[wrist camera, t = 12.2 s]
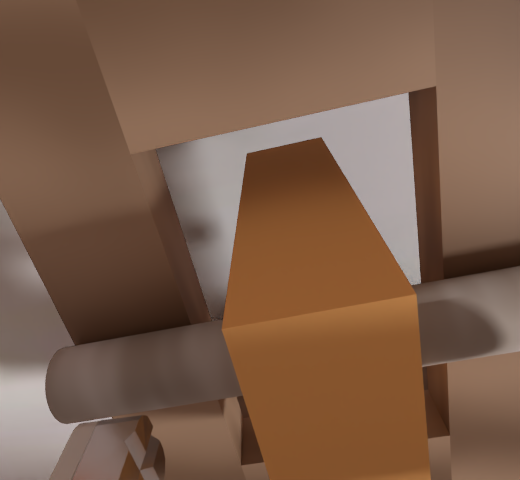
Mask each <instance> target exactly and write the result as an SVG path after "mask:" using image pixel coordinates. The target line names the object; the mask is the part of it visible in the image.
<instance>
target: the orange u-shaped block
mask: <svg viewBox="0 0 520 480" xmlns="http://www.w3.org/2000/svg"><path fill="white" fill-rule="evenodd" d="M222 332H223V335H224V338H225V341H226V344H227V348H228V351H229V354H230V357H231V360H232V363H233V366H234V369H235V373H236V376H237V379H238V382H239V385H240V388H241V391H242V394H243V397H244V401H245V404H246V407H247V410H248V413H249V416H250V419H251V422H252V426H253V429H254V432H255V435H256V438H257V441H258V444H259V447H260V451H261V454H262V457H263V460H264V463H265V466H266V469H267V472H268V476H269V479H270V480H431V475H430V462H429V449H428V436H427V423H426V410H425V397H424V384H423V372H422V359H421V346H420V333H419V320H418V307H417V294H416V293H415V291H414V289H413V288H412V286H411V284H410V283H409V281H408V279H407V278H406V276H405V274H404V273H403V271H402V270H401V268H400V266H399V265H398V263H397V261H396V260H395V258H394V256H393V255H392V253H391V251H390V250H389V248H388V246H387V245H386V243H385V242H384V240H383V238H382V237H381V235H380V233H379V232H378V230H377V228H376V227H375V225H374V223H373V222H372V220H371V218H370V217H369V215H368V214H367V212H366V210H365V209H364V207H363V205H362V204H361V202H360V200H359V199H358V197H357V195H356V194H355V192H354V190H353V189H352V187H351V186H350V184H349V182H348V181H347V179H346V177H345V176H344V174H343V172H342V171H341V169H340V167H339V166H338V164H337V162H336V161H335V159H334V158H333V156H332V154H331V153H330V151H329V149H328V148H327V146H326V144H325V143H324V141H323V139H322V138H321V137H320V138H316V139H311V140H307V141H302V142H298V143H293V144H288V145H284V146H279V147H275V148H270V149H266V150H261V151H257V152H252V153H248V154H247V157H246V164H245V171H244V178H243V185H242V192H241V199H240V205H239V212H238V219H237V226H236V233H235V240H234V247H233V254H232V261H231V268H230V275H229V282H228V289H227V296H226V303H225V309H224V316H223V323H222Z"/></svg>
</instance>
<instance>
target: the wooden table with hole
mask: <svg viewBox="0 0 520 480" xmlns="http://www.w3.org/2000/svg"><path fill="white" fill-rule="evenodd" d="M407 92H409V106H410V122H411V137H412V152H413V167H414V182H415V197H416V212H417V227H418V243H419V258H420V273H421V284H416V285H411V286H412V288H413V289H414V291H415V293H416V294H417V307H418V320H419V333H420V346H421V359H422V372H423V384H424V397H425V410H426V423H427V436H428V449H429V462H430V475H431V480H520V0H0V199H1V201H2V203H3V205H4V207H5V209H6V211H7V213H8V215H9V217H10V219H11V221H12V223H13V225H14V227H15V229H16V231H17V233H18V234H19V236H20V238H21V240H22V242H23V244H24V246H25V248H26V250H27V252H28V254H29V256H30V258H31V260H32V262H33V264H34V266H35V268H36V270H37V272H38V274H39V276H40V277H41V279H42V281H43V283H44V285H45V287H46V289H47V291H48V293H49V295H50V297H51V299H52V301H53V303H54V305H55V307H56V309H57V311H58V313H59V315H60V317H61V319H62V321H63V322H64V324H65V326H66V328H67V330H68V332H69V334H70V336H71V338H72V340H73V342H74V344H75V346H71V347H65V348H62V349H60V350H58V351H57V352H56V353H55V354H54V356H53V357H52V359H51V361H50V363H49V366H48V369H47V374H46V382H45V391H46V398H47V403H48V406H49V409H50V411H51V413H52V414H53V416H54V417H55V418H56V419H57V420H58V421H59V422H61V423H64V424H69V423H76V422H82V421H88V420H94V419H100V418H107V417H112V418H113V419H116V418H124V417H132V416H139V415H146V416H148V417H149V419H150V421H151V423H152V425H153V429H152V432H151V435H152V436H153V437H155V438H157V439H158V440H160V442H161V445H162V447H163V450H164V455H165V476H164V480H270V479H269V476H268V472H267V469H266V466H265V463H264V460H263V457H262V454H261V451H260V447H259V444H258V441H257V438H256V435H255V432H254V429H253V426H252V422H251V419H250V416H249V413H248V410H247V407H246V404H245V401H244V397H243V394H242V391H241V388H240V385H239V382H238V379H237V376H236V373H235V369H234V366H233V363H232V360H231V357H230V354H229V351H228V348H227V344H226V341H225V338H224V335H223V332H222V323H223V319H221V320H215V321H211V318H210V315H209V311H208V308H207V305H206V302H205V299H204V296H203V293H202V290H201V287H200V284H199V281H198V278H197V275H196V272H195V269H194V266H193V263H192V260H191V257H190V254H189V250H188V247H187V244H186V241H185V238H184V235H183V232H182V229H181V226H180V223H179V220H178V217H177V214H176V211H175V208H174V205H173V202H172V199H171V196H170V192H169V189H168V186H167V183H166V180H165V177H164V174H163V171H162V168H161V165H160V162H159V159H158V156H157V153H156V150H155V149H157V148H161V147H166V146H170V145H175V144H179V143H184V142H188V141H193V140H197V139H202V138H206V137H211V136H215V135H220V134H224V133H228V132H233V131H237V130H242V129H246V128H251V127H255V126H260V125H264V124H269V123H273V122H278V121H282V120H287V119H291V118H296V117H300V116H305V115H309V114H313V113H318V112H322V111H327V110H331V109H336V108H340V107H345V106H349V105H354V104H358V103H363V102H367V101H372V100H376V99H381V98H385V97H390V96H394V95H398V94H403V93H407Z"/></svg>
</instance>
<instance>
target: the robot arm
mask: <svg viewBox="0 0 520 480" xmlns="http://www.w3.org/2000/svg"><path fill="white" fill-rule="evenodd" d="M152 429H153V425H152V423H151V421H150V419H149V417H148V416H146V415H139V416H132V417H124V418H116V419H109V420H101V421H97V422H90V423H82V424H79V425H78V426H77V427H76V428H75V429H74V430H73V432H72V434H71V436H70V438H69V440H68V442H67V444H66V446H65V448H64V450H63V452H62V454H61V456H60V458H59V460H58V463H57V465H56V467H55V469H54V471H53V473H52V475H51V477H50V479H49V480H164V476H165V455H164V450H163V447H162V445H161V442H160V440H158V439H157V438H155V437H153V436H152V435H151V432H152Z"/></svg>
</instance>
